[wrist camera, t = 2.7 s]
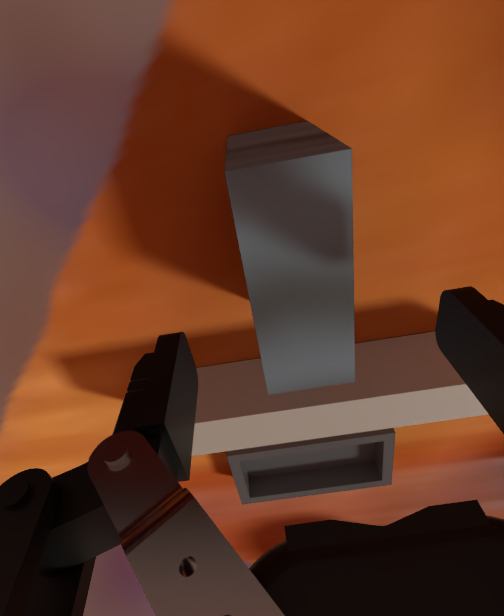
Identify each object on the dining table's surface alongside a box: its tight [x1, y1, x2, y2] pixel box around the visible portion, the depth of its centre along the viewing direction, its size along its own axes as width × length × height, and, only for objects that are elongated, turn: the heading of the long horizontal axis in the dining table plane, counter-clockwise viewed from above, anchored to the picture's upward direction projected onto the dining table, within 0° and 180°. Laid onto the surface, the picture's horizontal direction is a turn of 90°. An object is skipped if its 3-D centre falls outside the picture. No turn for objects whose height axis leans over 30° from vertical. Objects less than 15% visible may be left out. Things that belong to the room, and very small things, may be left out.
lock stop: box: [224, 121, 355, 395], centre depth 17 cm, size 10×4×8 cm, turn 9°
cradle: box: [227, 428, 395, 504], centre depth 30 cm, size 13×7×2 cm, turn 99°
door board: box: [112, 331, 488, 456], centre depth 25 cm, size 24×3×5 cm, turn 99°
